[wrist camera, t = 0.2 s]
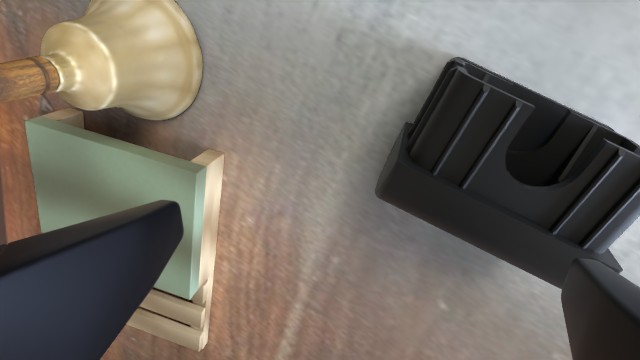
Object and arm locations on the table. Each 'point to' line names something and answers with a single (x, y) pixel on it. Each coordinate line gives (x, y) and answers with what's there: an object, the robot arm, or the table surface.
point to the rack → (127, 192)
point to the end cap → (514, 173)
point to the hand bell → (115, 60)
